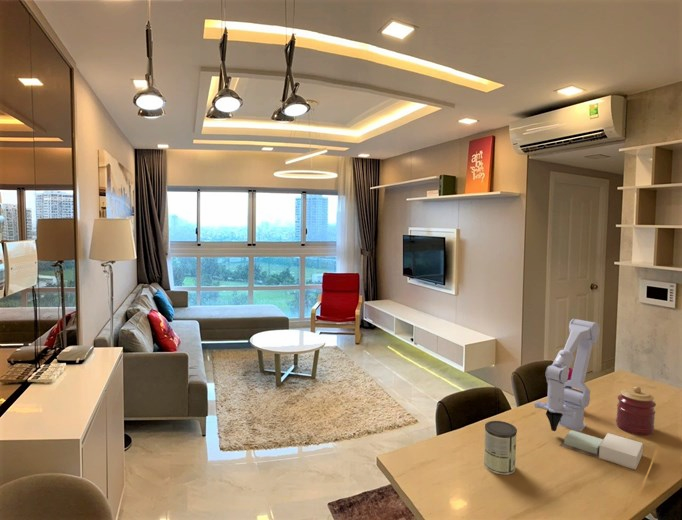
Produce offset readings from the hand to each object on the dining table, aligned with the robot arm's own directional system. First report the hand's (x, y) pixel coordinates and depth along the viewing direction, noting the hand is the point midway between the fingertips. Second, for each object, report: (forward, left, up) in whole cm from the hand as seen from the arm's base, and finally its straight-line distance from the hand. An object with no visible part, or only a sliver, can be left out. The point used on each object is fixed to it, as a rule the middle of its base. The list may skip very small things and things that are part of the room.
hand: (553, 430), depth 171 cm
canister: (+22, +30, -3) cm, 37 cm away
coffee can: (-7, -35, -3) cm, 36 cm away
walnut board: (+16, 0, -3) cm, 16 cm away
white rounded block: (+22, 0, -3) cm, 22 cm away
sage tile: (+11, 0, -2) cm, 11 cm away
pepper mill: (-5, +33, -3) cm, 34 cm away
